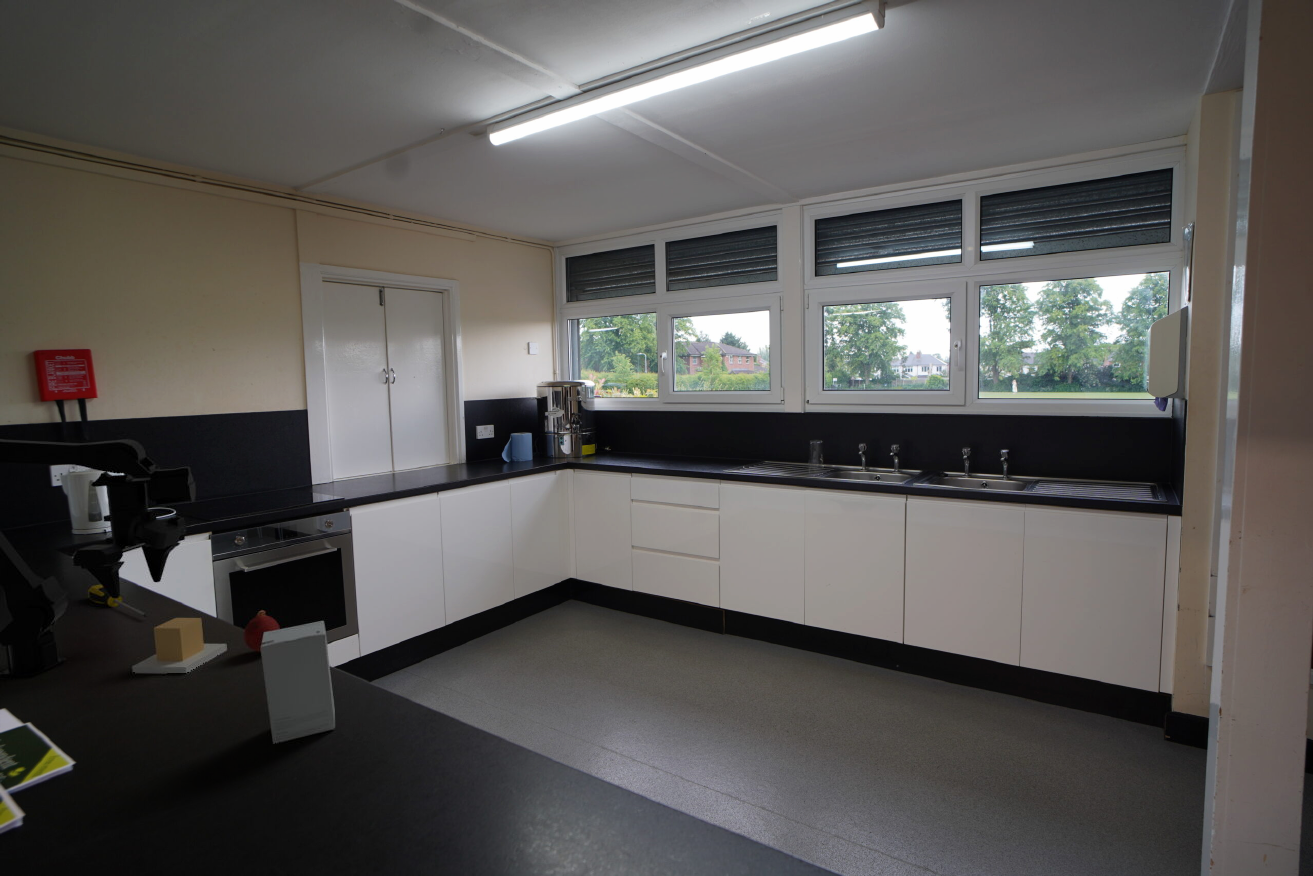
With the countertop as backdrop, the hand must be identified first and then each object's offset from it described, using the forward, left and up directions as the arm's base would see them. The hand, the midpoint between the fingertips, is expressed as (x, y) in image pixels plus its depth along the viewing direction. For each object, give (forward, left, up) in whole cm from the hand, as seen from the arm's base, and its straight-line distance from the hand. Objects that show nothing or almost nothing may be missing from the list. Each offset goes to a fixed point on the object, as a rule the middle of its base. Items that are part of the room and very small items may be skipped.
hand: (137, 589), depth 127 cm
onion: (+24, 0, -12) cm, 27 cm away
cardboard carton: (+11, -4, -11) cm, 16 cm away
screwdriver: (-26, +23, -12) cm, 36 cm away
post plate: (+11, -4, -12) cm, 17 cm away
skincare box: (+48, -26, -12) cm, 56 cm away
